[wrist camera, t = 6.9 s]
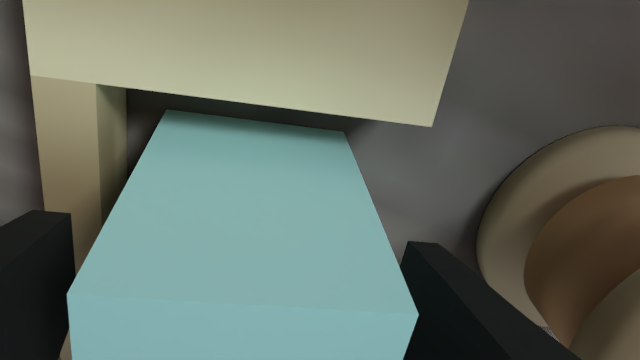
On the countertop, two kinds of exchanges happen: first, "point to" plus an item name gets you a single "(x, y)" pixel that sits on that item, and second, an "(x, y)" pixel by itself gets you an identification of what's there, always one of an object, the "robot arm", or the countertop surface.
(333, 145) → the pale teal block
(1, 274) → the robot arm
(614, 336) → the spool
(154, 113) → the countertop surface
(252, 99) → the notch board
